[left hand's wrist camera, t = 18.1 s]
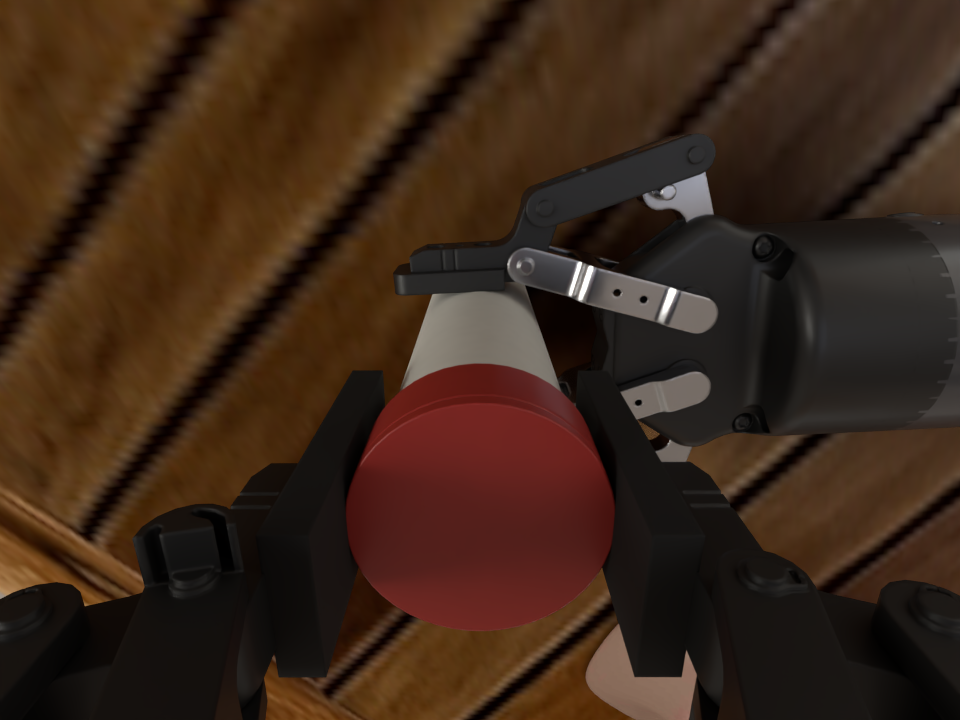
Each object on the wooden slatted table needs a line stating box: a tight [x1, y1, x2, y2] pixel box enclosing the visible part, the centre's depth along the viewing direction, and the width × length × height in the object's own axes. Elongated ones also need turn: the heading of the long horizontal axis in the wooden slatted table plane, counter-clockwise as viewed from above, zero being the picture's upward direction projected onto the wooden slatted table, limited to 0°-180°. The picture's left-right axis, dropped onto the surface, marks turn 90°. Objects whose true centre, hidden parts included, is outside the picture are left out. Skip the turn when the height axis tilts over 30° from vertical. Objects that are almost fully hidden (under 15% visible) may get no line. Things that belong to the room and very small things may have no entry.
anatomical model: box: [586, 624, 697, 720], centre depth 31 cm, size 13×4×12 cm
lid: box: [346, 363, 615, 631], centre depth 11 cm, size 5×5×2 cm
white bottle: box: [400, 282, 561, 391], centre depth 18 cm, size 4×4×16 cm
